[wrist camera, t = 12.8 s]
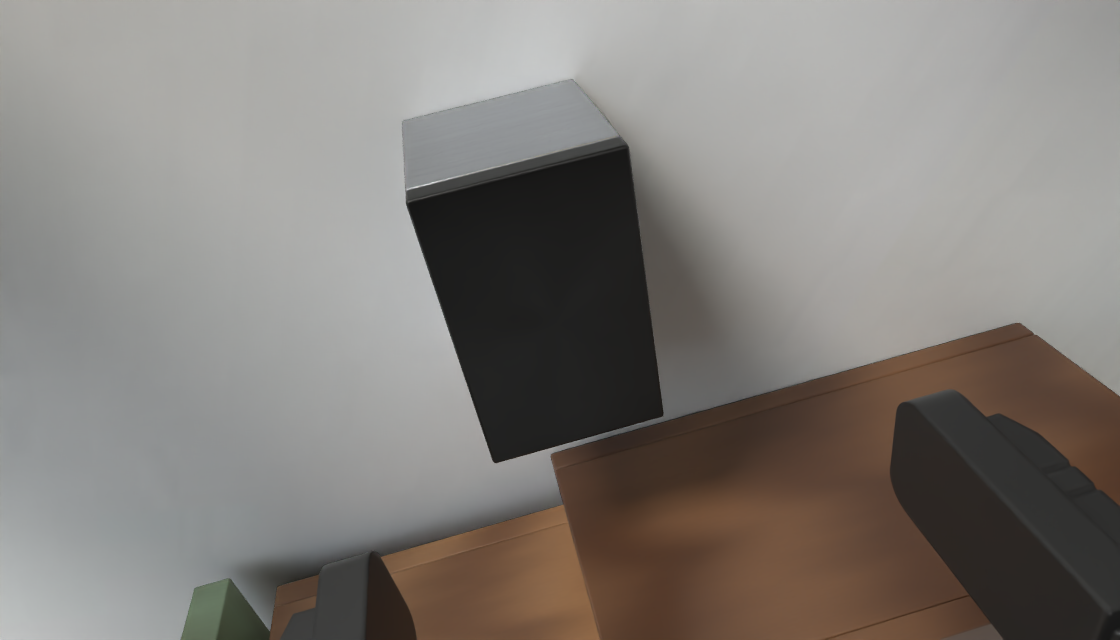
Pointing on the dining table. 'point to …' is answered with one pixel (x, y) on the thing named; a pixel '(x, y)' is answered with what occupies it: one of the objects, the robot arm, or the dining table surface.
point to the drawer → (445, 589)
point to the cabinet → (808, 501)
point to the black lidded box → (536, 264)
